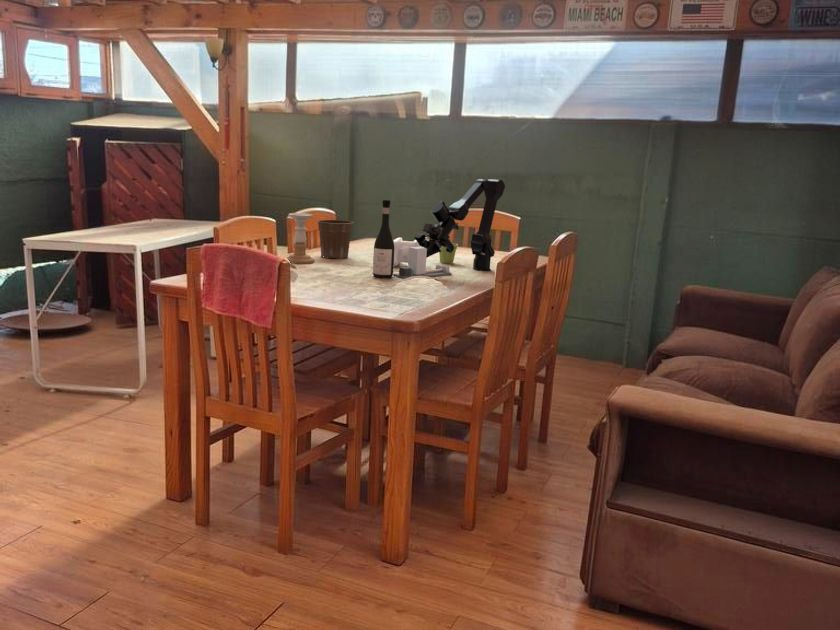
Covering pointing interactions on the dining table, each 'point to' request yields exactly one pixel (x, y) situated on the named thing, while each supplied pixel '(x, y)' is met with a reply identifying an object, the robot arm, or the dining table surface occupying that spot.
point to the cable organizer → (402, 250)
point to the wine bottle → (384, 247)
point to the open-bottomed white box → (417, 259)
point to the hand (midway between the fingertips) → (422, 258)
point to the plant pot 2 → (447, 255)
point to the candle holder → (300, 239)
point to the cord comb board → (438, 271)
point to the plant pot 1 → (335, 237)
